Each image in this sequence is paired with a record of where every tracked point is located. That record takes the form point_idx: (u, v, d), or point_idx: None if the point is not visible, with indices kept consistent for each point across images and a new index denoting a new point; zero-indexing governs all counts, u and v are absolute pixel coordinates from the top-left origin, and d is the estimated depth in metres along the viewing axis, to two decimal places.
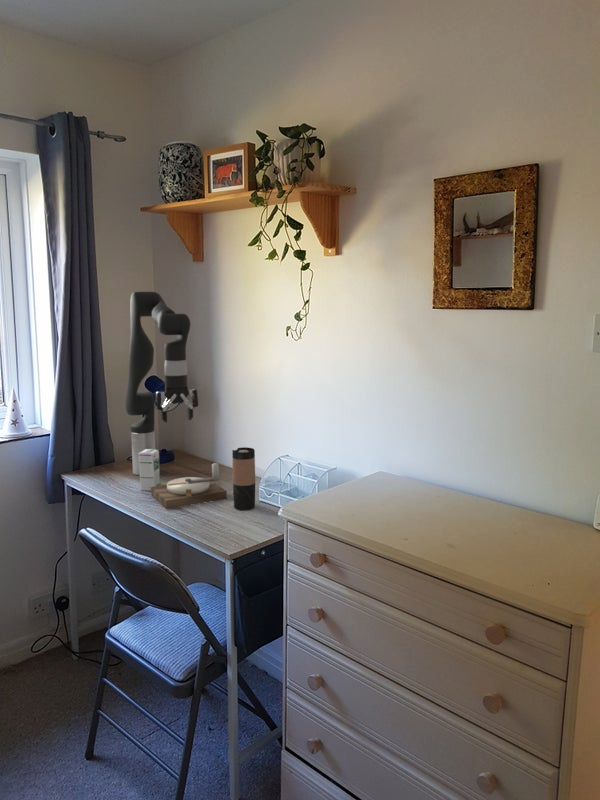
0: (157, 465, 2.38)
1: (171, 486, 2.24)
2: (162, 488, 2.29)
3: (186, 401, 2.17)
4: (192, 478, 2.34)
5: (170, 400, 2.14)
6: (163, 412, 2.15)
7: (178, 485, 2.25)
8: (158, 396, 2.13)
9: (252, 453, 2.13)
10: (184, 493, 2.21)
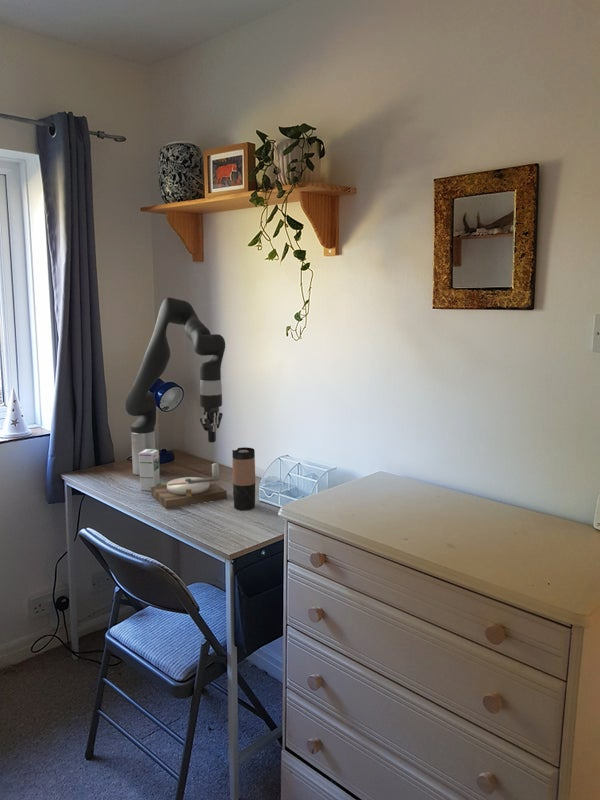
0: (157, 465, 2.38)
1: (171, 486, 2.24)
2: (162, 488, 2.29)
3: None
4: (192, 478, 2.34)
5: None
6: None
7: (178, 485, 2.25)
8: None
9: (252, 453, 2.13)
10: (184, 493, 2.21)
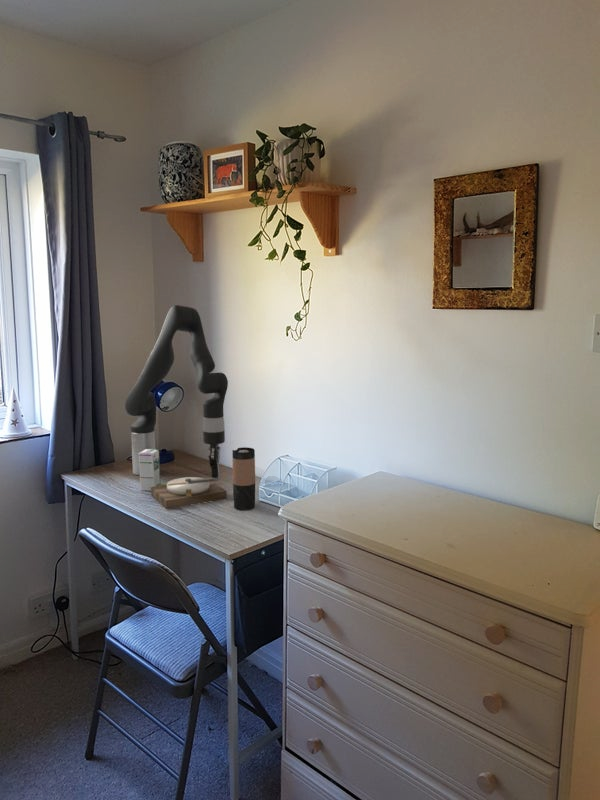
0: (157, 465, 2.38)
1: (171, 486, 2.24)
2: (162, 488, 2.29)
3: None
4: (192, 478, 2.34)
5: None
6: None
7: (178, 485, 2.25)
8: None
9: (252, 453, 2.13)
10: (184, 493, 2.21)
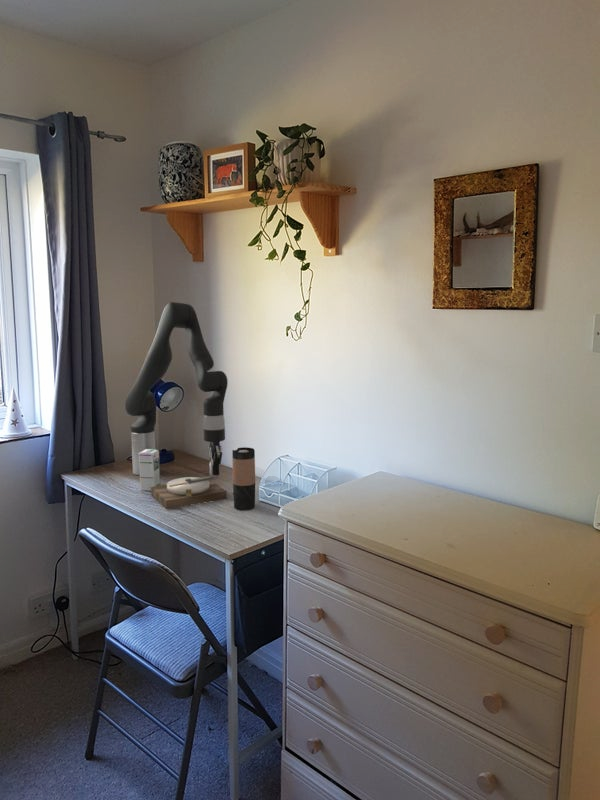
0: (157, 465, 2.38)
1: (174, 487, 2.23)
2: (162, 488, 2.29)
3: (211, 455, 2.28)
4: (188, 478, 2.34)
5: (209, 452, 2.30)
6: None
7: (180, 486, 2.25)
8: None
9: (252, 453, 2.13)
10: None
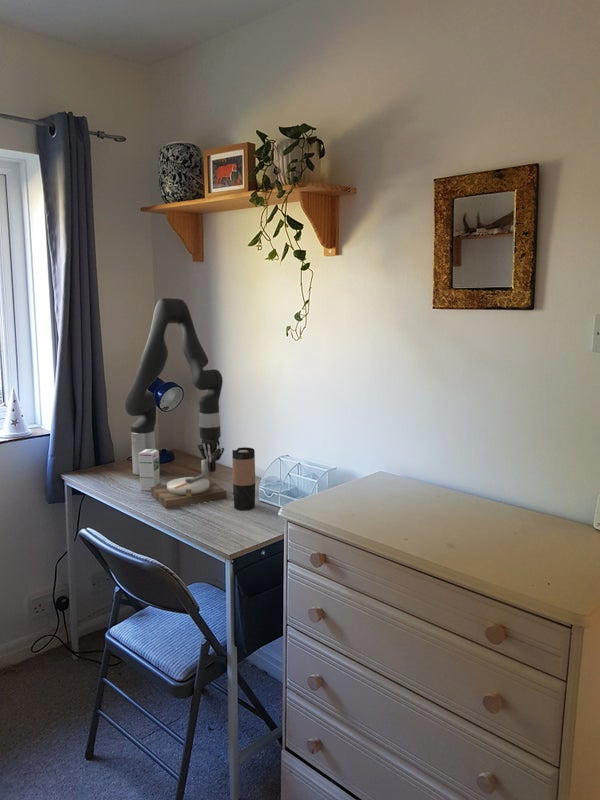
0: (157, 465, 2.38)
1: (181, 488, 2.22)
2: (162, 488, 2.29)
3: (208, 453, 2.31)
4: (181, 479, 2.33)
5: (205, 450, 2.33)
6: (208, 462, 2.34)
7: (185, 486, 2.24)
8: (199, 448, 2.36)
9: (252, 453, 2.13)
10: (199, 491, 2.23)
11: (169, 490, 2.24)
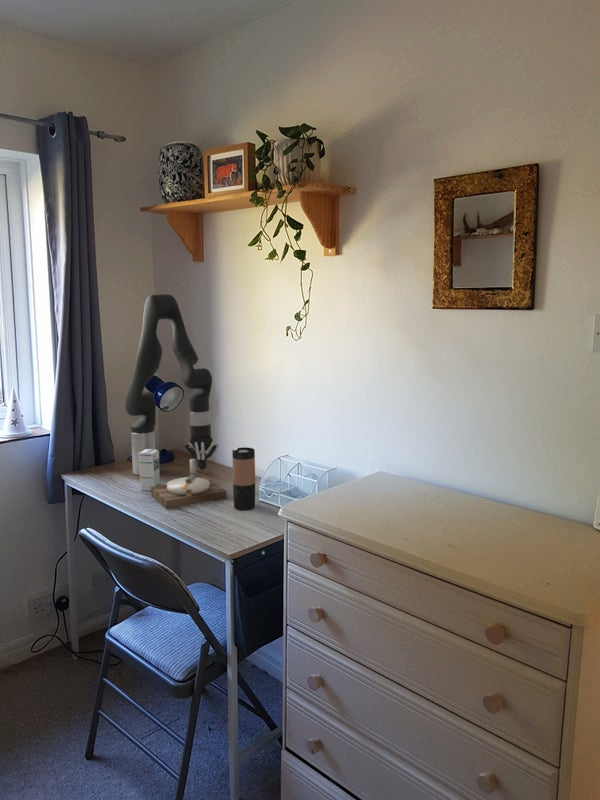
0: (157, 465, 2.38)
1: (190, 488, 2.22)
2: (162, 488, 2.29)
3: (202, 450, 2.34)
4: (175, 480, 2.31)
5: (196, 448, 2.35)
6: (199, 460, 2.36)
7: (191, 486, 2.25)
8: (187, 448, 2.36)
9: (252, 453, 2.13)
10: (206, 489, 2.26)
11: (176, 492, 2.22)
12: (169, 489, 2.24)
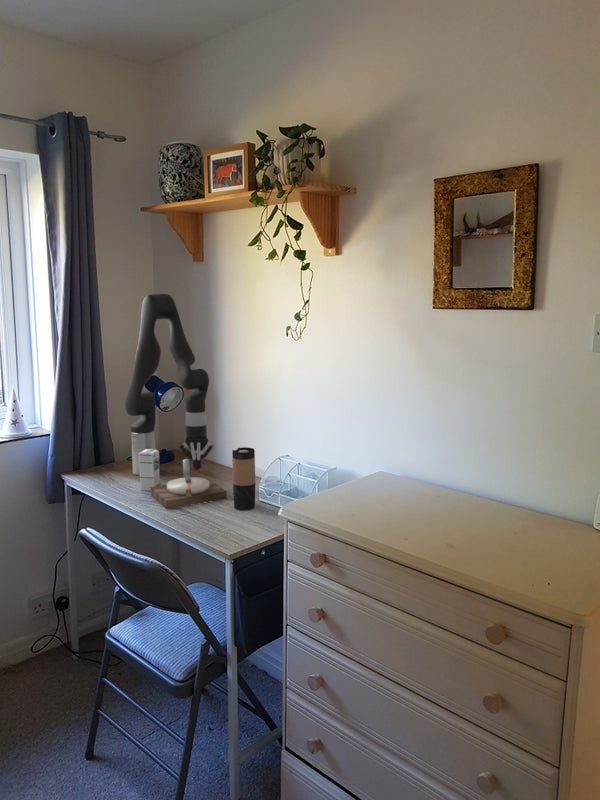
0: (157, 465, 2.38)
1: (195, 487, 2.23)
2: (162, 488, 2.29)
3: (198, 451, 2.35)
4: (173, 481, 2.30)
5: (192, 449, 2.35)
6: (194, 460, 2.37)
7: (193, 485, 2.25)
8: (182, 448, 2.36)
9: (252, 453, 2.13)
10: (208, 487, 2.28)
11: (181, 492, 2.21)
12: (172, 490, 2.23)
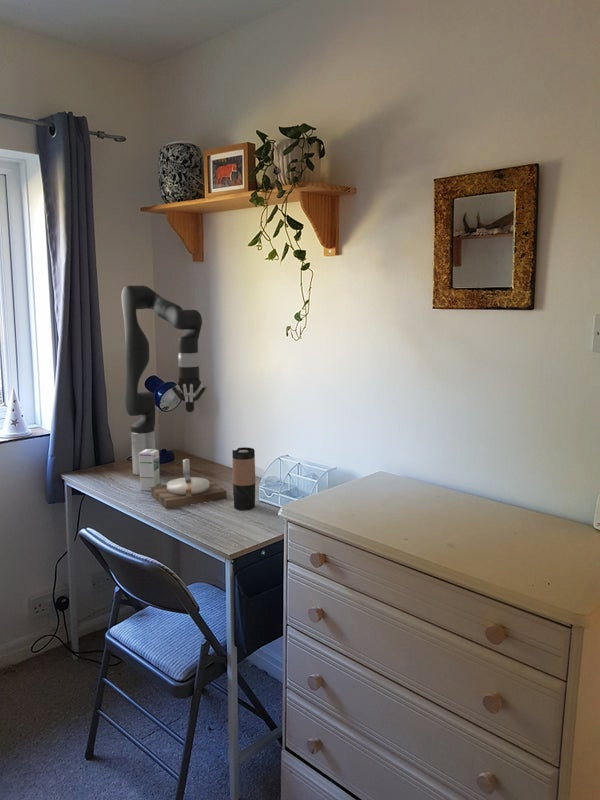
0: (157, 465, 2.38)
1: (195, 487, 2.23)
2: (162, 488, 2.29)
3: (190, 393, 2.33)
4: (173, 481, 2.30)
5: (184, 391, 2.33)
6: (186, 403, 2.35)
7: (193, 485, 2.25)
8: (174, 390, 2.34)
9: (252, 453, 2.13)
10: (208, 487, 2.28)
11: (181, 492, 2.21)
12: (172, 490, 2.23)
